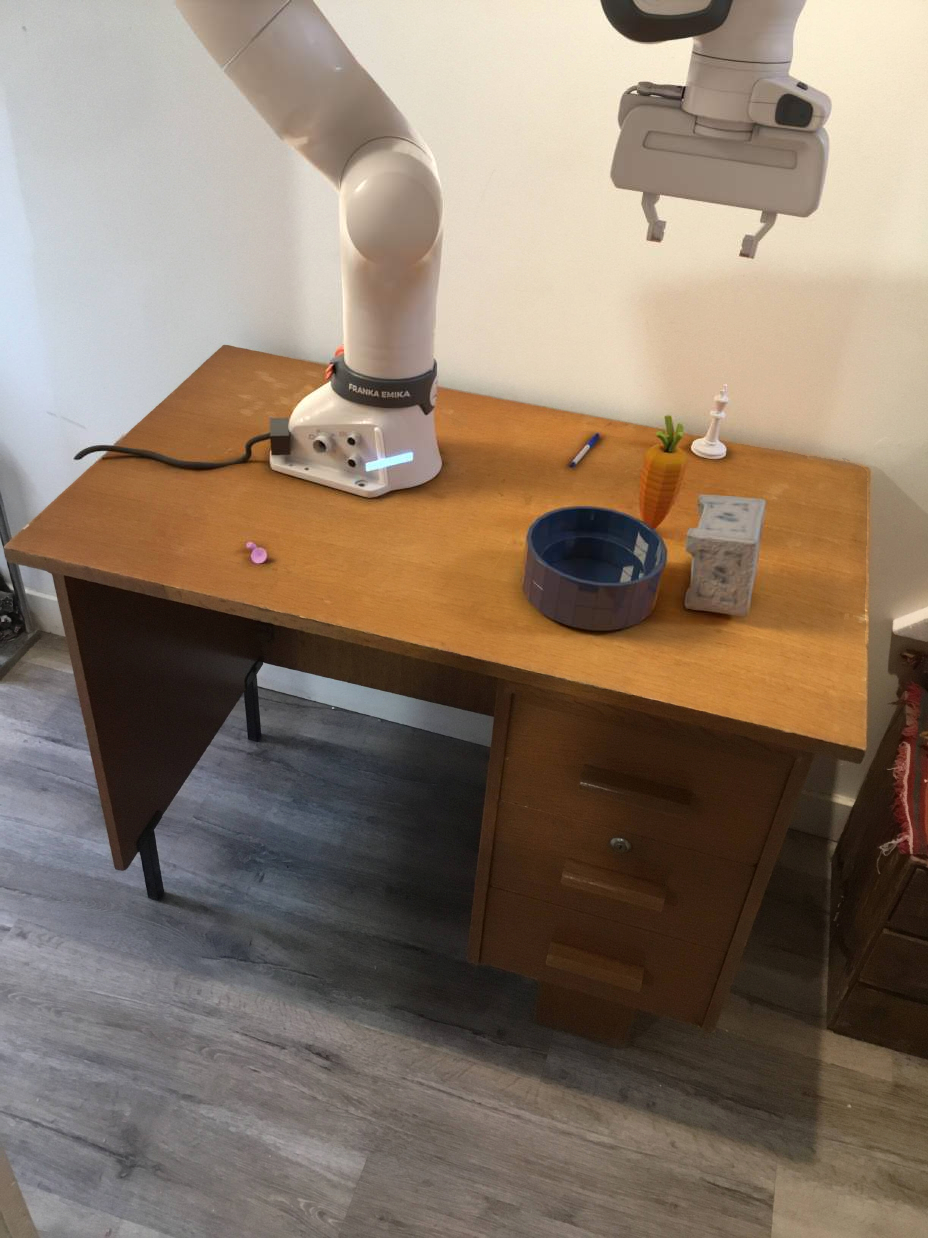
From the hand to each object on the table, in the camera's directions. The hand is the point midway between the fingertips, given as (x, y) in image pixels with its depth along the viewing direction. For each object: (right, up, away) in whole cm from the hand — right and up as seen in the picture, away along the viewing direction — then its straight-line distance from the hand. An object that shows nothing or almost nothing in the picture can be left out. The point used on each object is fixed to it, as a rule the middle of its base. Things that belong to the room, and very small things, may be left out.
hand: (700, 248), depth 92 cm
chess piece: (+11, -14, +37) cm, 41 cm away
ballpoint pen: (-7, -15, +35) cm, 38 cm away
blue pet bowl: (-10, -35, +9) cm, 37 cm away
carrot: (-1, -27, +20) cm, 33 cm away
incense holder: (+4, -35, +11) cm, 36 cm away
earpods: (-47, -31, +11) cm, 57 cm away
